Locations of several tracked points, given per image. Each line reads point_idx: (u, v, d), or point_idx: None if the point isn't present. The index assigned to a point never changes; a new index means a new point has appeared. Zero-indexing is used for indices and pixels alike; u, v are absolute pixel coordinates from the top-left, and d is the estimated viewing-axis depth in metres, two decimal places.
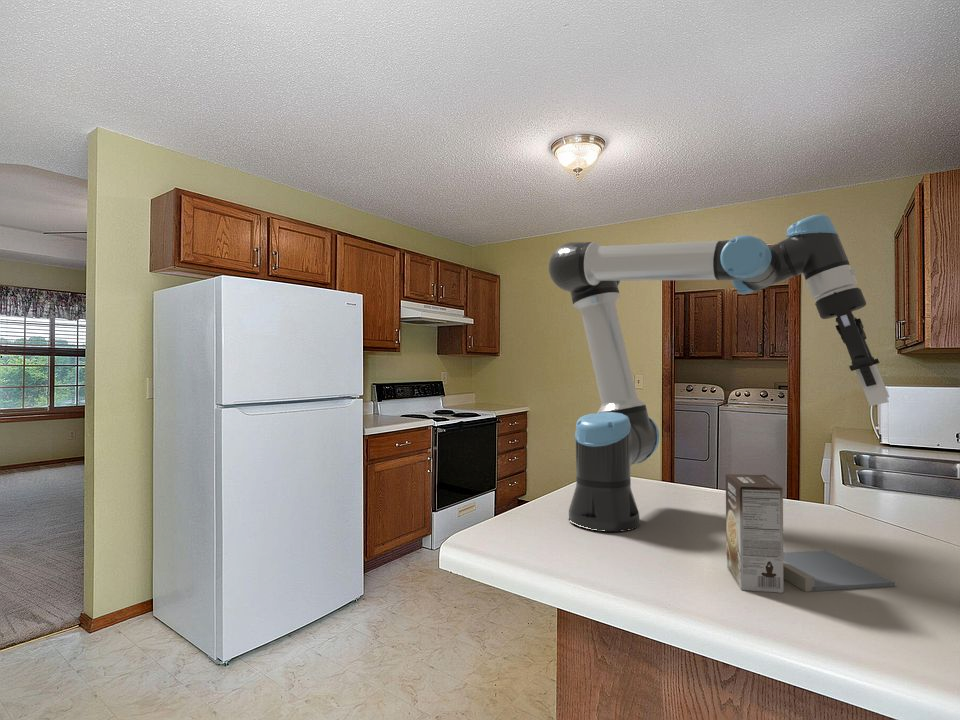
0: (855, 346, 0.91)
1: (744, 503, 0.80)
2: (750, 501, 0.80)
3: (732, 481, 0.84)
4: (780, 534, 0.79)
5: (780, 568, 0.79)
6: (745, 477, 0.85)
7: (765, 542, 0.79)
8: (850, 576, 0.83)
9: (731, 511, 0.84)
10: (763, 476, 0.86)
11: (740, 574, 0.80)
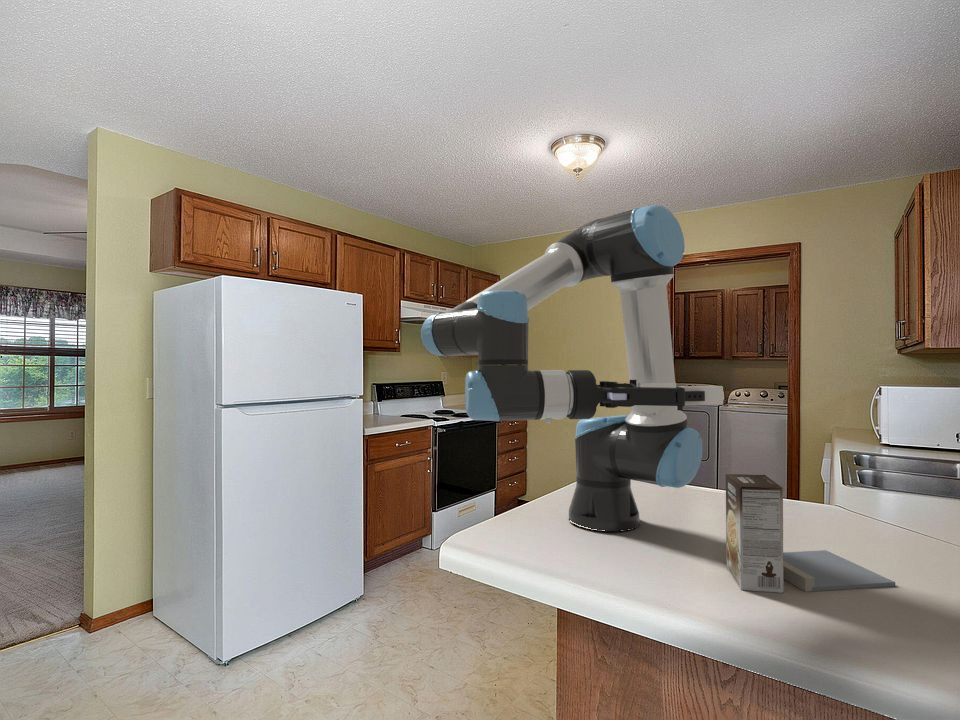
0: None
1: (744, 503, 0.80)
2: (750, 501, 0.80)
3: (732, 481, 0.84)
4: (780, 533, 0.79)
5: (780, 568, 0.79)
6: (745, 477, 0.85)
7: (765, 542, 0.79)
8: (850, 576, 0.83)
9: (731, 511, 0.84)
10: (763, 476, 0.86)
11: (740, 574, 0.80)
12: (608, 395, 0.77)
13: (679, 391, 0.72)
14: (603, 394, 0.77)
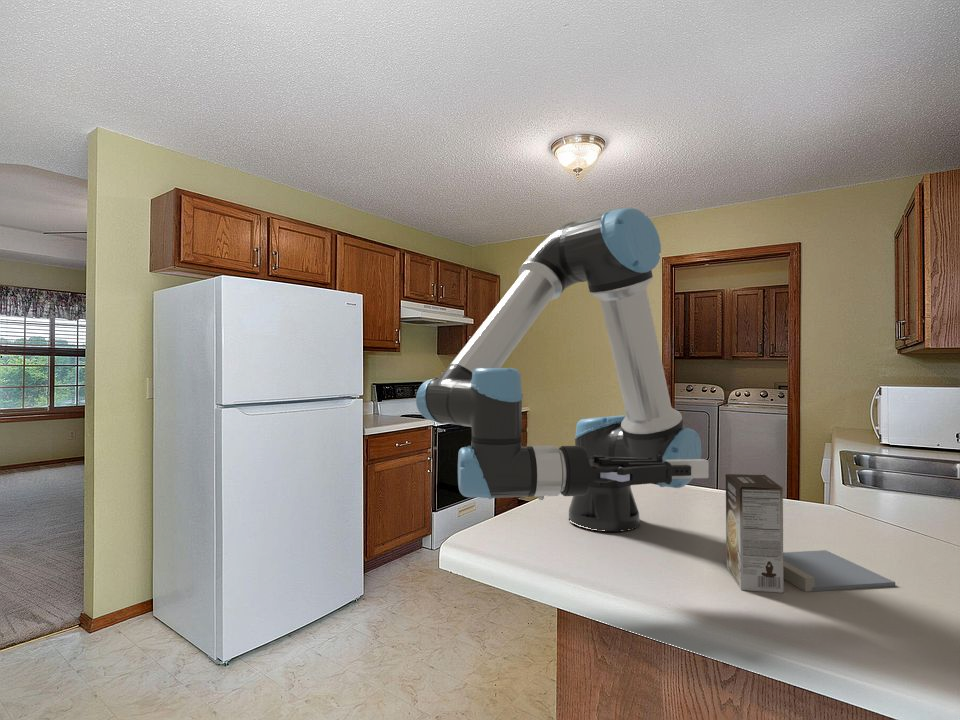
0: None
1: (744, 503, 0.80)
2: (750, 501, 0.80)
3: (732, 481, 0.84)
4: (780, 533, 0.79)
5: (780, 568, 0.79)
6: (745, 477, 0.85)
7: (765, 542, 0.79)
8: (850, 576, 0.83)
9: (731, 511, 0.84)
10: (763, 476, 0.86)
11: (740, 574, 0.80)
12: (607, 475, 0.76)
13: (666, 468, 0.78)
14: (596, 474, 0.77)
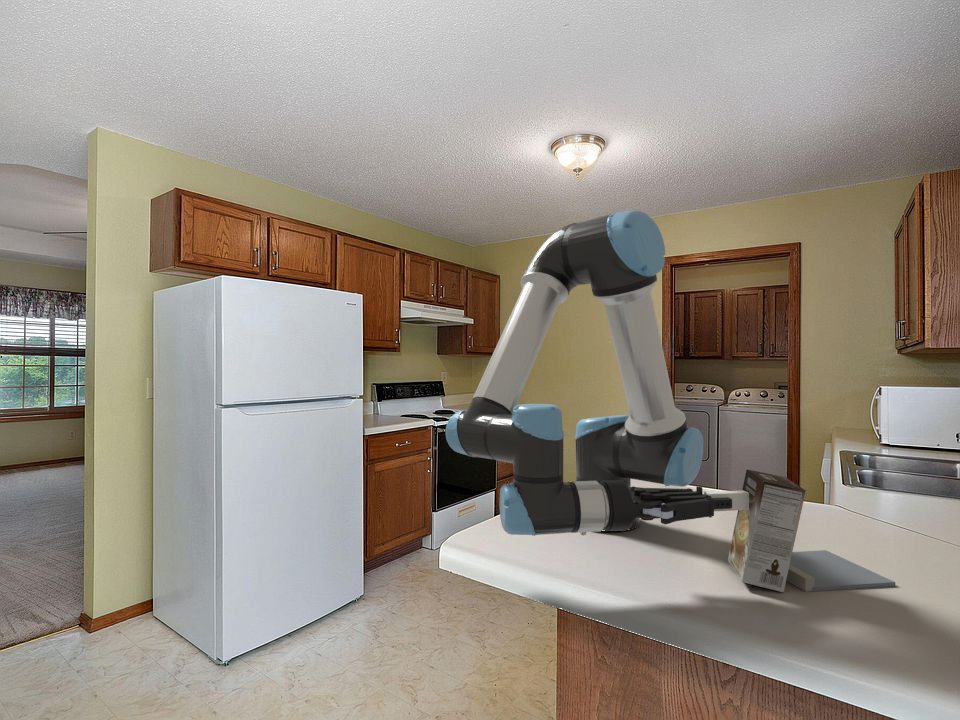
0: None
1: (763, 498, 0.79)
2: (770, 497, 0.79)
3: (754, 476, 0.83)
4: (793, 534, 0.78)
5: (785, 568, 0.79)
6: (767, 475, 0.85)
7: (777, 540, 0.79)
8: (850, 576, 0.83)
9: None
10: (784, 478, 0.85)
11: (744, 567, 0.80)
12: (650, 511, 0.77)
13: (708, 502, 0.78)
14: (639, 510, 0.77)
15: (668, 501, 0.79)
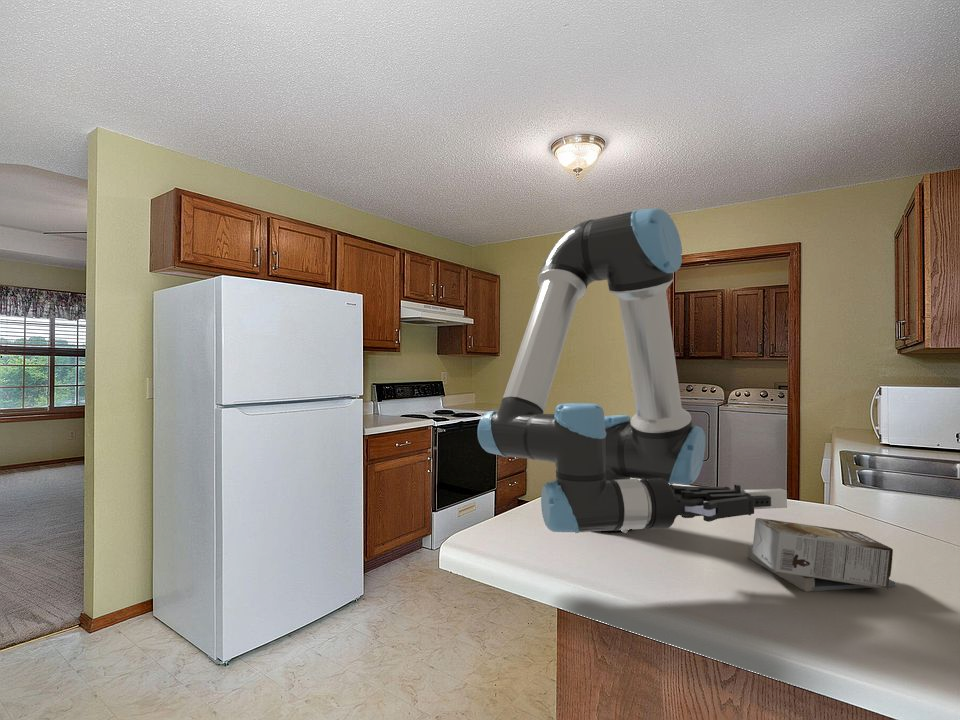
0: None
1: (873, 550, 0.78)
2: (876, 556, 0.78)
3: (873, 540, 0.82)
4: (838, 578, 0.78)
5: (801, 572, 0.79)
6: None
7: (830, 564, 0.78)
8: None
9: (838, 533, 0.83)
10: None
11: (794, 533, 0.79)
12: (693, 509, 0.78)
13: (749, 500, 0.79)
14: (681, 507, 0.78)
15: (708, 499, 0.80)
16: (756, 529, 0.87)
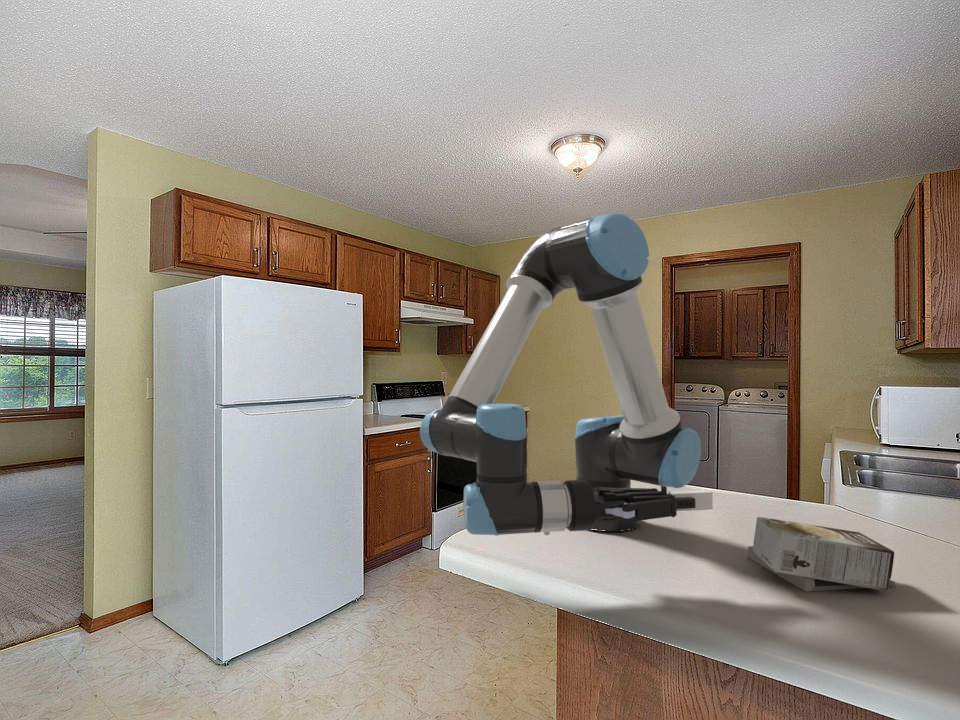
0: None
1: (875, 552, 0.77)
2: (877, 558, 0.77)
3: (875, 541, 0.81)
4: (838, 580, 0.78)
5: (801, 573, 0.79)
6: None
7: (831, 565, 0.78)
8: None
9: (839, 534, 0.82)
10: None
11: (796, 535, 0.79)
12: (613, 511, 0.77)
13: (671, 502, 0.78)
14: (601, 510, 0.77)
15: (631, 501, 0.80)
16: (757, 528, 0.87)
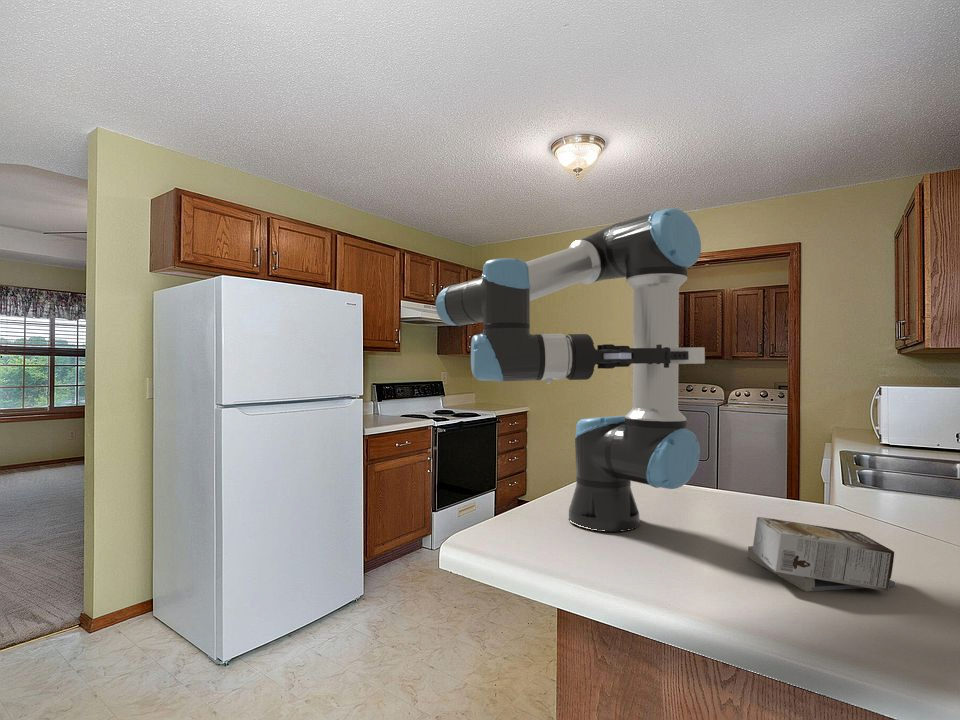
0: None
1: (875, 552, 0.77)
2: (877, 558, 0.77)
3: (875, 541, 0.81)
4: (838, 580, 0.78)
5: (801, 573, 0.79)
6: None
7: (831, 565, 0.78)
8: None
9: (839, 534, 0.82)
10: None
11: (796, 535, 0.79)
12: (610, 356, 0.82)
13: (665, 350, 0.84)
14: (600, 355, 0.82)
15: None
16: (757, 528, 0.87)
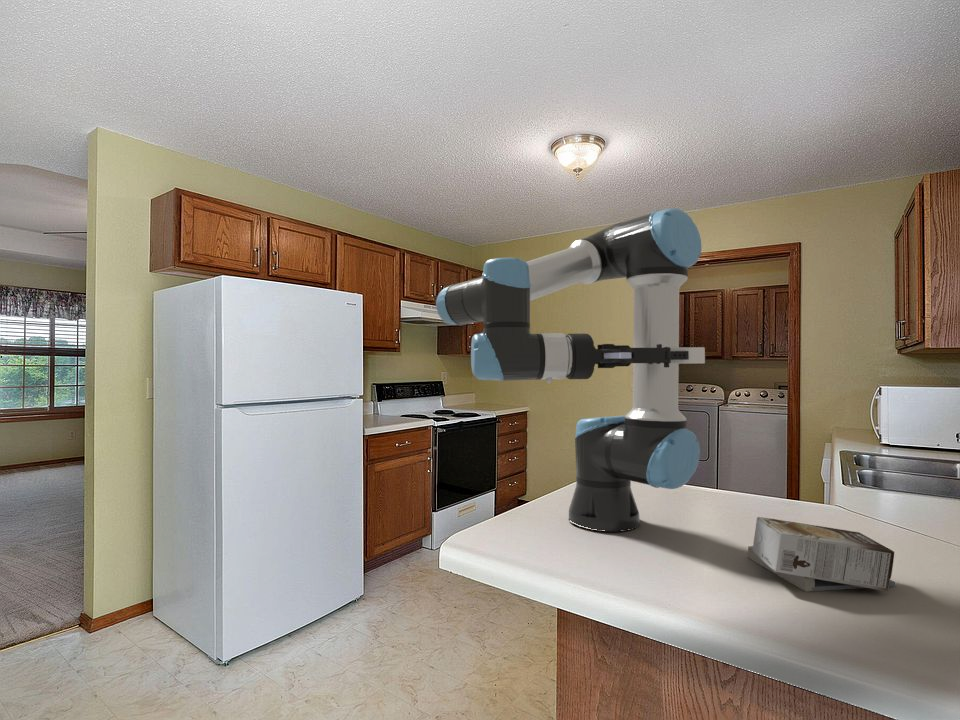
0: None
1: (875, 552, 0.77)
2: (877, 558, 0.77)
3: (875, 541, 0.81)
4: (838, 580, 0.78)
5: (801, 573, 0.79)
6: None
7: (831, 565, 0.78)
8: None
9: (839, 534, 0.82)
10: None
11: (796, 535, 0.79)
12: (611, 355, 0.82)
13: (665, 350, 0.84)
14: (600, 354, 0.82)
15: None
16: (757, 528, 0.87)
